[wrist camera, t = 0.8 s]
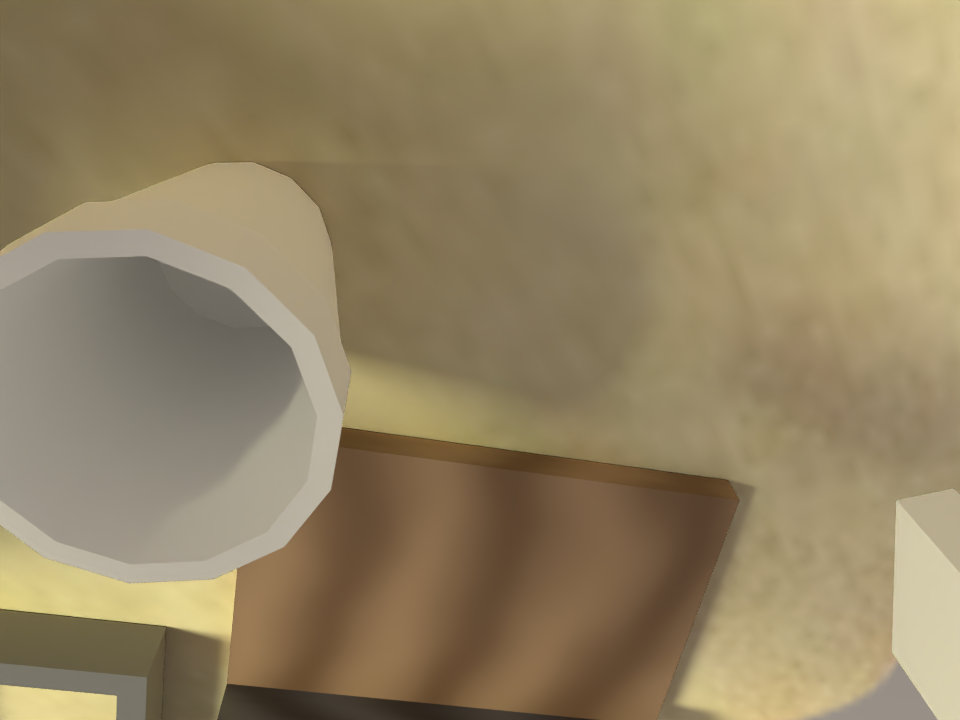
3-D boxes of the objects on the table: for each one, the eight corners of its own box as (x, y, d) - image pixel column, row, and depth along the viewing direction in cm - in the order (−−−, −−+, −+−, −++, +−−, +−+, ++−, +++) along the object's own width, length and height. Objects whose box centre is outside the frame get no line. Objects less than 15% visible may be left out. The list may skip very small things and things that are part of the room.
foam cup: (351, 380, 35) (311, 606, 23) (109, 341, 33) (-64, 559, 22) (391, 143, 31) (367, 268, 19) (118, 89, 29) (-88, 186, 18)
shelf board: (232, 677, 41) (213, 746, 37) (256, 416, 35) (237, 469, 31) (641, 717, 43) (660, 785, 40) (728, 480, 38) (759, 535, 34)
